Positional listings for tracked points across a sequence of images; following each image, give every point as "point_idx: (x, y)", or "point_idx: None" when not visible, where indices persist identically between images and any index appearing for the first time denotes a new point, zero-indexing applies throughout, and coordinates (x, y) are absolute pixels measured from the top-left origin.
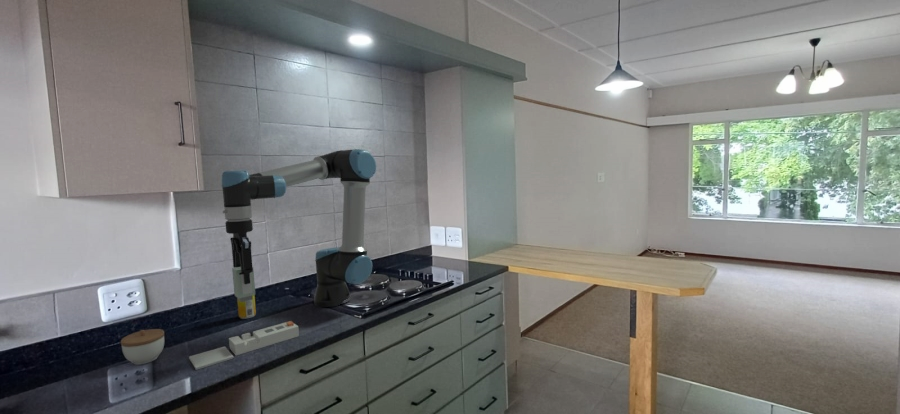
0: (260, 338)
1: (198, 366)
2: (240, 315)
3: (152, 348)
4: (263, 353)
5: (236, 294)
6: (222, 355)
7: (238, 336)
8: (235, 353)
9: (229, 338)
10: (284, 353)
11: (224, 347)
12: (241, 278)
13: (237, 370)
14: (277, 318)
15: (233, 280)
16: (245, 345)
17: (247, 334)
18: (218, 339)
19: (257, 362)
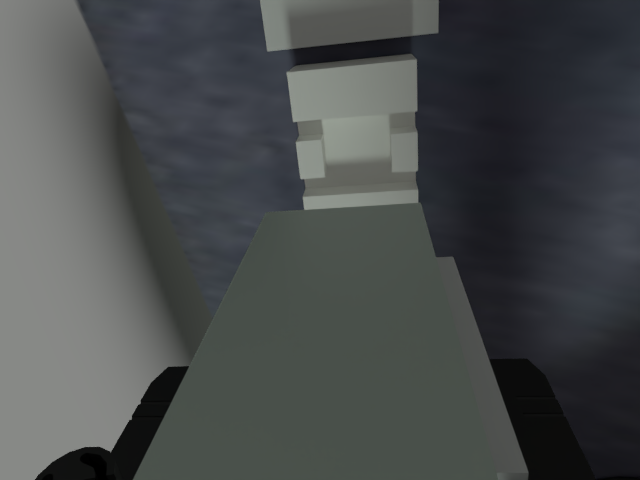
0: (304, 198)
1: None
2: None
3: None
4: (241, 175)
5: (333, 220)
6: (316, 2)
7: (401, 111)
8: (296, 66)
9: (408, 62)
10: (190, 240)
11: (421, 28)
12: None
13: (124, 43)
14: (627, 327)
15: (429, 302)
16: (309, 123)
17: (394, 158)
18: (605, 18)
19: (162, 133)
